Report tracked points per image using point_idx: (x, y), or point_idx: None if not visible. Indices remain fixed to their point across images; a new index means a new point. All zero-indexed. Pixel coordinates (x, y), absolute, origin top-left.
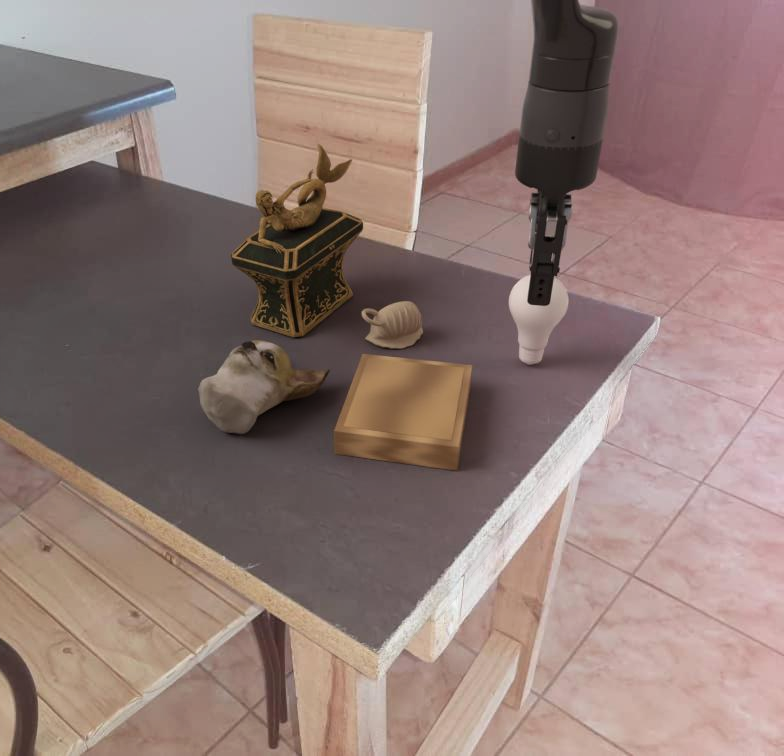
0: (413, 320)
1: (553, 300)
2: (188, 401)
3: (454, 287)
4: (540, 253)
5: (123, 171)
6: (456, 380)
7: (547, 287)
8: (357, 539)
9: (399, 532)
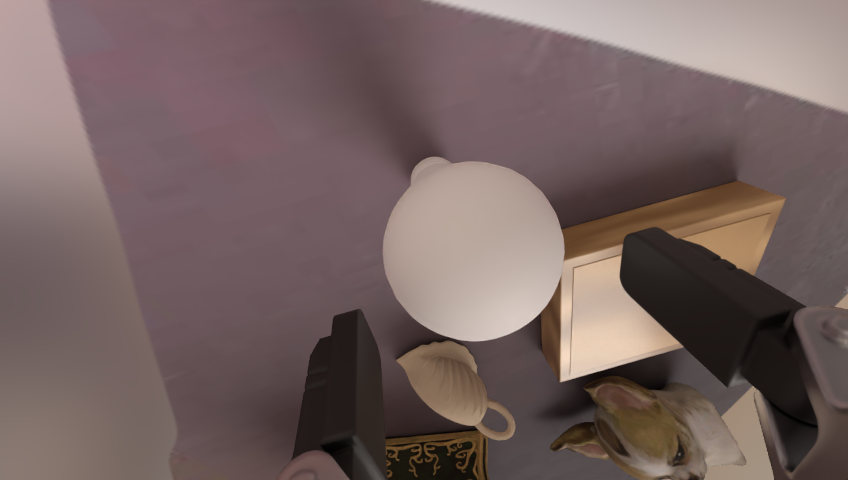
0: (456, 378)
1: (552, 219)
2: None
3: (233, 367)
4: (372, 380)
5: None
6: (613, 264)
7: (752, 280)
8: (836, 230)
9: (836, 198)
